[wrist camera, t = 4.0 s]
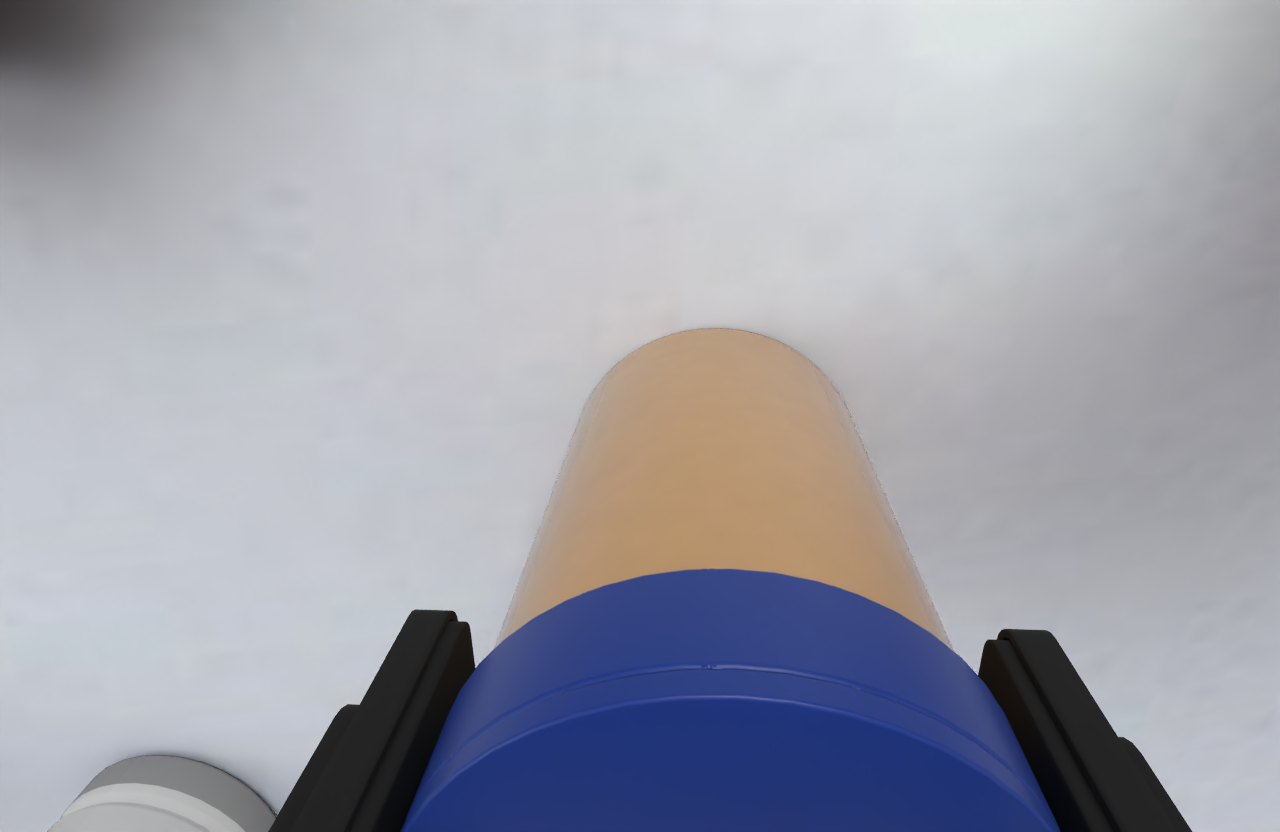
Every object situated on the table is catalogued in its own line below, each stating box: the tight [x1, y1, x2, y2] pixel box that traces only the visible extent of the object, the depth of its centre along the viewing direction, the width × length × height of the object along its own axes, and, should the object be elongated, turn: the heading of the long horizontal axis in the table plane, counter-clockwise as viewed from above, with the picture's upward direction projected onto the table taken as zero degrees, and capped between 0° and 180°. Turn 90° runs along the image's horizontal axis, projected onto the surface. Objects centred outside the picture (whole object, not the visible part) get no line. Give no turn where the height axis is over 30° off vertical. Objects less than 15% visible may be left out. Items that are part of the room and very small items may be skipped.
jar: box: [494, 328, 954, 651], centre depth 13 cm, size 6×6×11 cm
